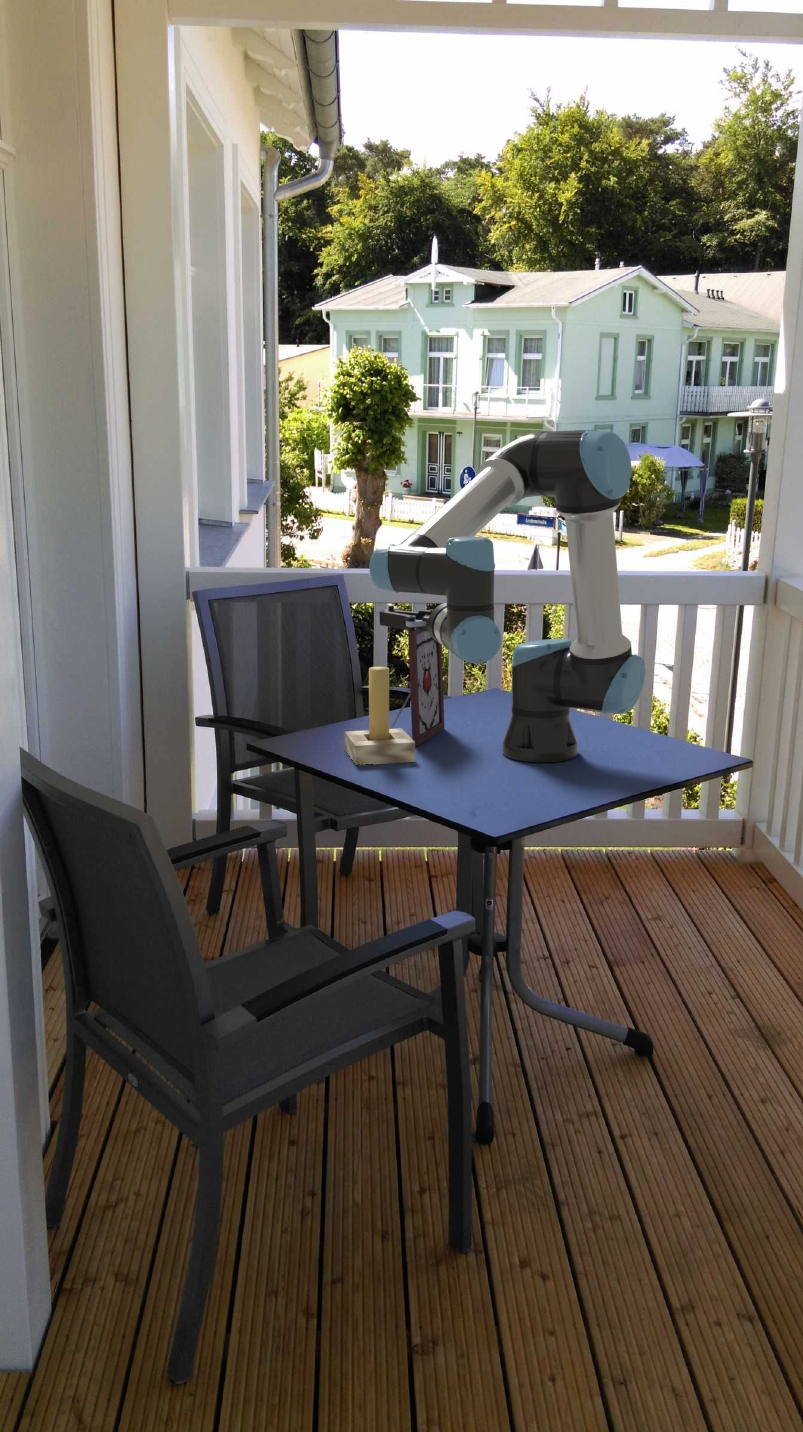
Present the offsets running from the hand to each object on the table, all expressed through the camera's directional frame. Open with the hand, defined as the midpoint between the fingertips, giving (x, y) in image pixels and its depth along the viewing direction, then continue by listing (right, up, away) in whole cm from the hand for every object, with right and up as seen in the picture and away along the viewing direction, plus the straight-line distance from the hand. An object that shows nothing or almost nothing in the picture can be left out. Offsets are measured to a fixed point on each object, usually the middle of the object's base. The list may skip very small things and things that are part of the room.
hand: (424, 609), depth 215 cm
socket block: (-9, -28, +20) cm, 35 cm away
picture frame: (-2, -24, +36) cm, 44 cm away
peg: (-9, -28, +20) cm, 35 cm away
